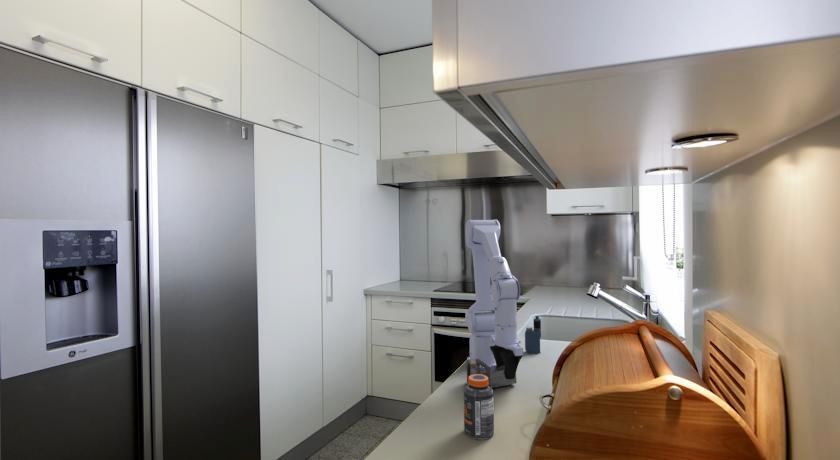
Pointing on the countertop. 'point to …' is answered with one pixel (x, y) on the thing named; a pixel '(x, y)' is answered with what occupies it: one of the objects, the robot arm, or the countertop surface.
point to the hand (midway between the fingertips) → (506, 375)
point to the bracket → (478, 363)
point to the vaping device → (533, 337)
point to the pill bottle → (478, 408)
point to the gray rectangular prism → (497, 376)
